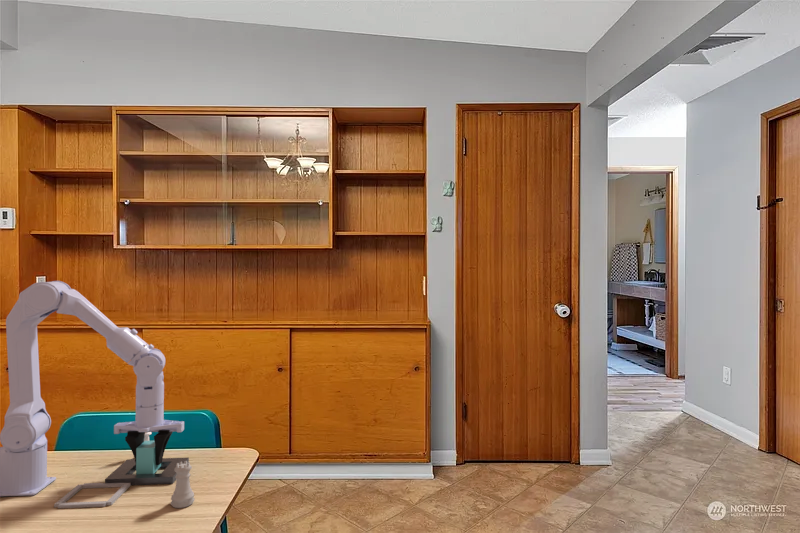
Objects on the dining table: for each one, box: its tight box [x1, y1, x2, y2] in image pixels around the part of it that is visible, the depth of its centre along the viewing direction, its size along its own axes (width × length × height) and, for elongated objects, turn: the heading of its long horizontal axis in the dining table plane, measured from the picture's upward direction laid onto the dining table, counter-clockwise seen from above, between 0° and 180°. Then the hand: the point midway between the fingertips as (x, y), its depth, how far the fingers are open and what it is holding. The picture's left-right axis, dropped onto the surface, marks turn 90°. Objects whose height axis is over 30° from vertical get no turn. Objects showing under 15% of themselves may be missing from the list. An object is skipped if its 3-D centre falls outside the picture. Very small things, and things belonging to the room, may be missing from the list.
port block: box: [104, 457, 190, 486], centre depth 112 cm, size 14×11×2 cm
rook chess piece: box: [170, 461, 195, 509], centre depth 99 cm, size 4×4×8 cm
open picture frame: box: [53, 482, 132, 509], centre depth 101 cm, size 11×10×1 cm
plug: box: [135, 439, 161, 474], centre depth 112 cm, size 4×5×6 cm
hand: (149, 463), depth 112 cm, fingers closed on plug, 4 cm apart
